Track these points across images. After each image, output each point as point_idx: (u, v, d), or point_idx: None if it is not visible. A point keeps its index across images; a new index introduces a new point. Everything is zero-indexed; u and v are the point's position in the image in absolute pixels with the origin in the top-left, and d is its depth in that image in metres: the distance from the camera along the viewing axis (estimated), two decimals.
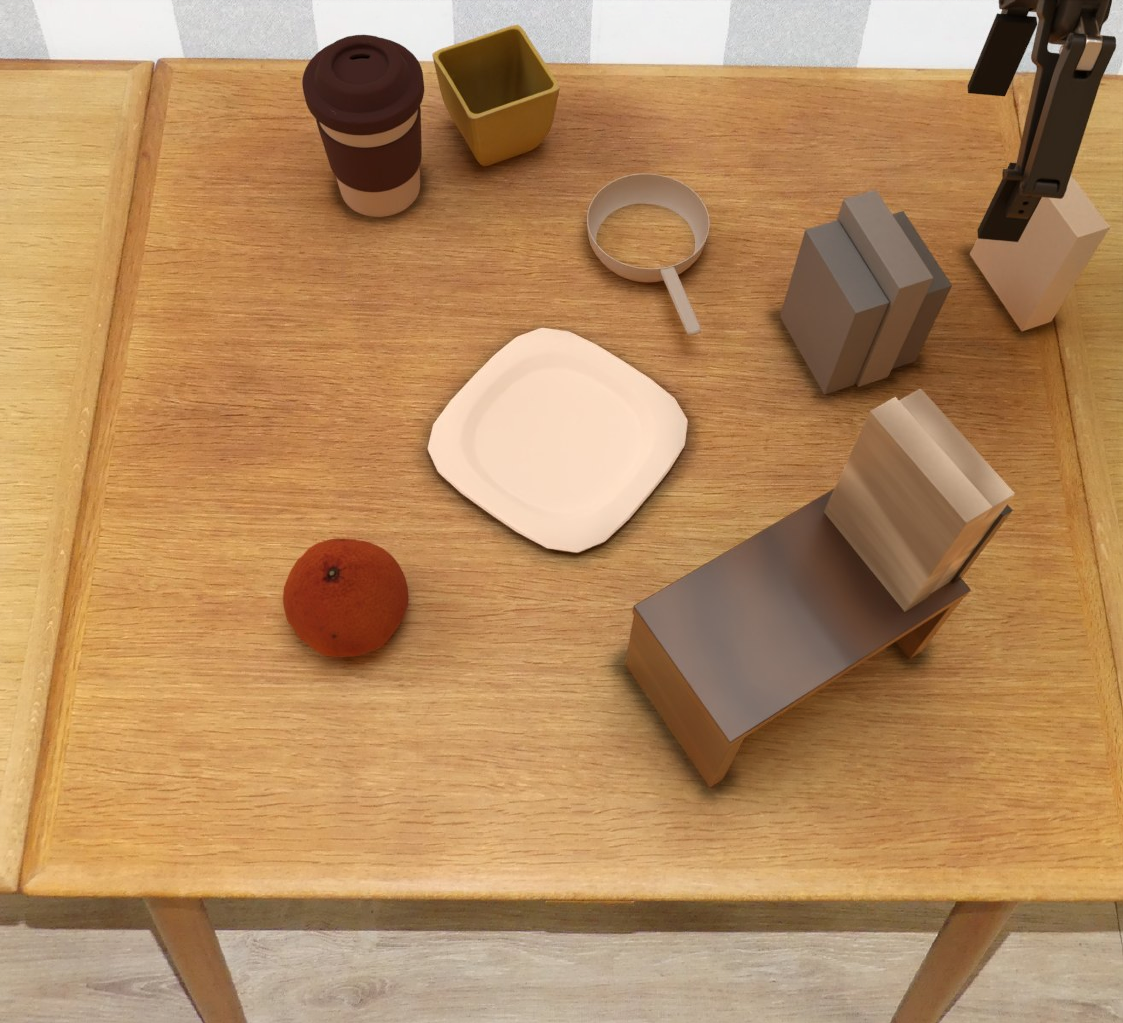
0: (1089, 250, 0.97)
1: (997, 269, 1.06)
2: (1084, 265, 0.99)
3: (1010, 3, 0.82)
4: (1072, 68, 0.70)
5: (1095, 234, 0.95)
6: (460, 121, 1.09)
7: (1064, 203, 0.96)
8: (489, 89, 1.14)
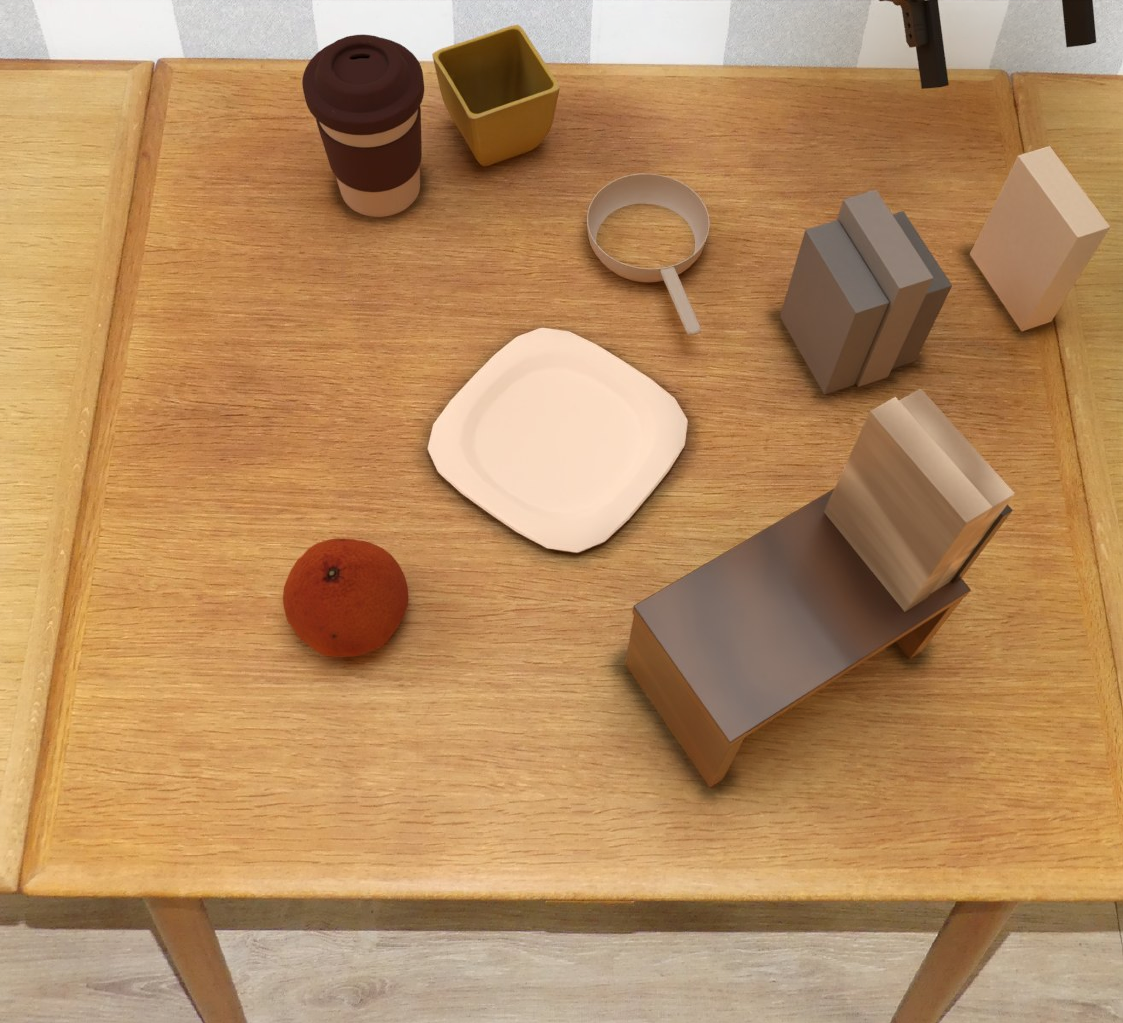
0: (1089, 250, 0.97)
1: (997, 269, 1.06)
2: (1084, 265, 0.99)
3: None
4: None
5: (1095, 234, 0.95)
6: (460, 121, 1.09)
7: (1064, 203, 0.96)
8: (489, 89, 1.14)
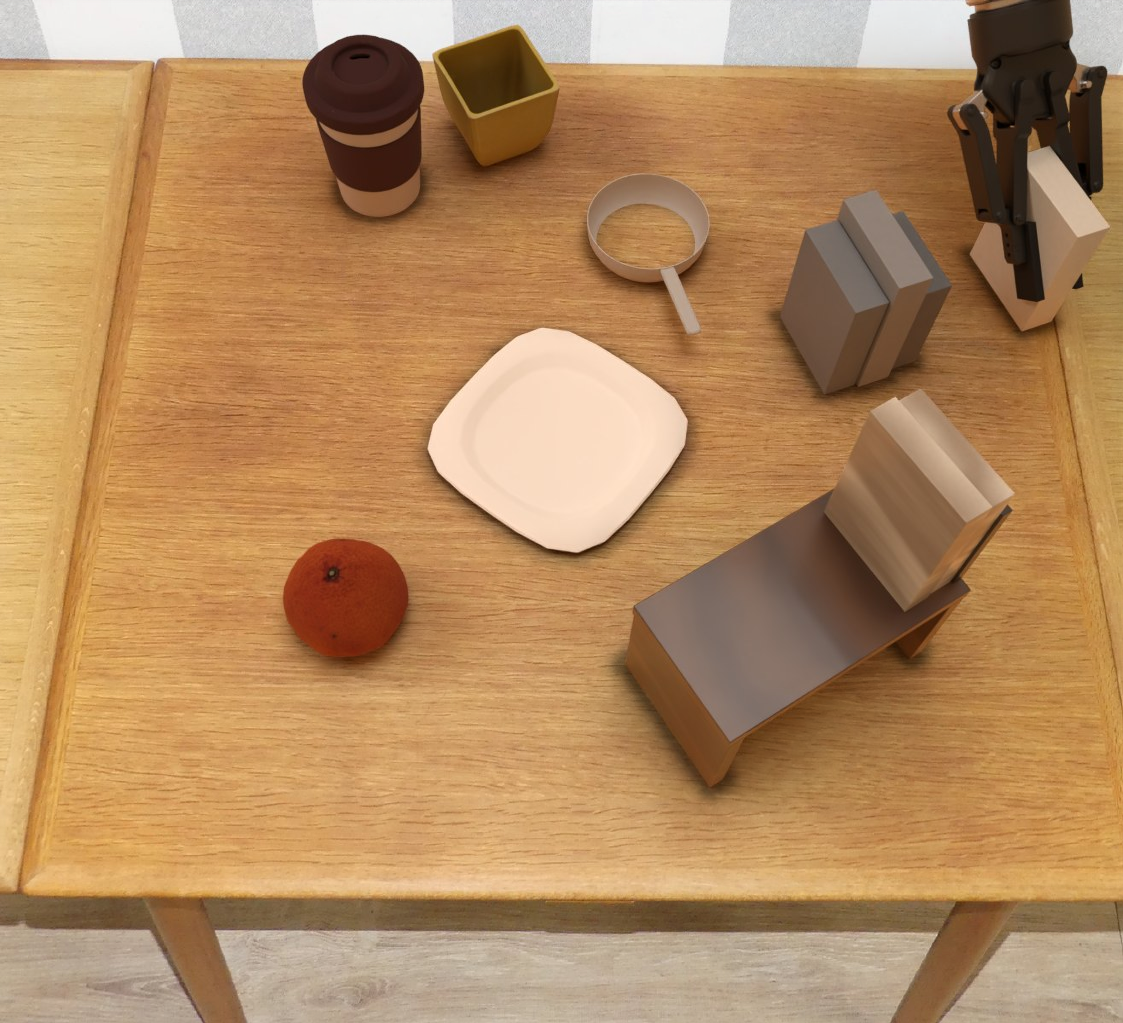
0: (1089, 250, 0.97)
1: (997, 269, 1.06)
2: (1084, 265, 0.99)
3: None
4: (959, 129, 0.97)
5: (1095, 234, 0.95)
6: (460, 121, 1.09)
7: (1064, 203, 0.96)
8: (489, 89, 1.14)
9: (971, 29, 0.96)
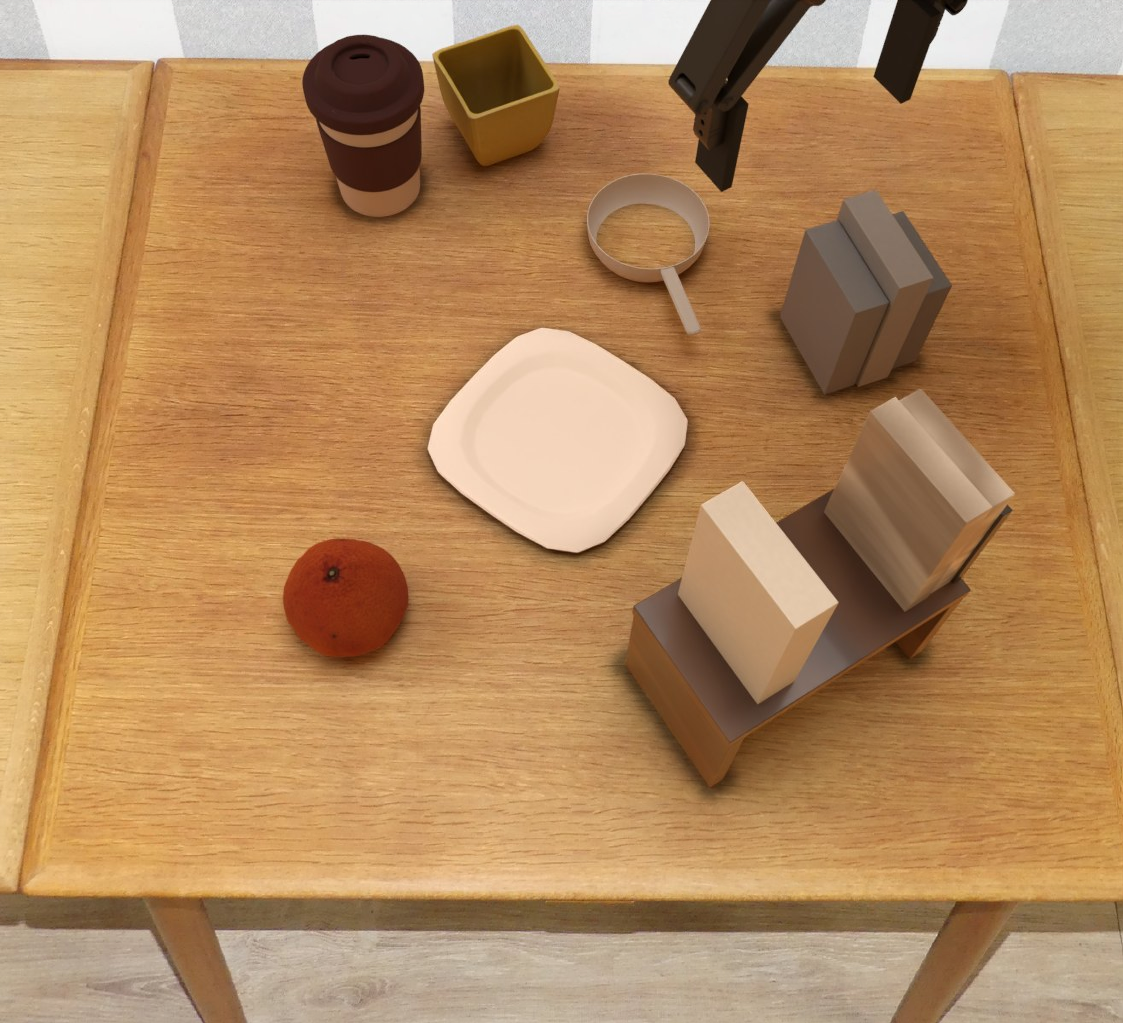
0: (818, 626, 0.69)
1: (713, 622, 0.78)
2: (818, 635, 0.71)
3: None
4: None
5: (819, 615, 0.67)
6: (460, 121, 1.09)
7: (772, 574, 0.68)
8: (489, 89, 1.14)
9: None
